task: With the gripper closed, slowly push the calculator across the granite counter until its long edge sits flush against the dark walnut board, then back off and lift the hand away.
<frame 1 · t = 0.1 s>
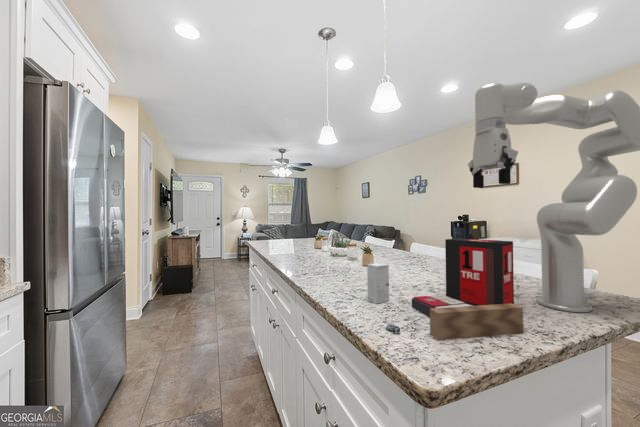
hand: (490, 185, 78), 37 cm above the counter, tool pointing down, fingers open, 9 cm apart
cleaning product box: (478, 303, 84), on the counter
blueberries: (395, 332, 64), on the counter
skincare box: (378, 301, 87), on the counter
walnut board: (476, 333, 62), on the counter
calculator: (443, 315, 75), on the counter
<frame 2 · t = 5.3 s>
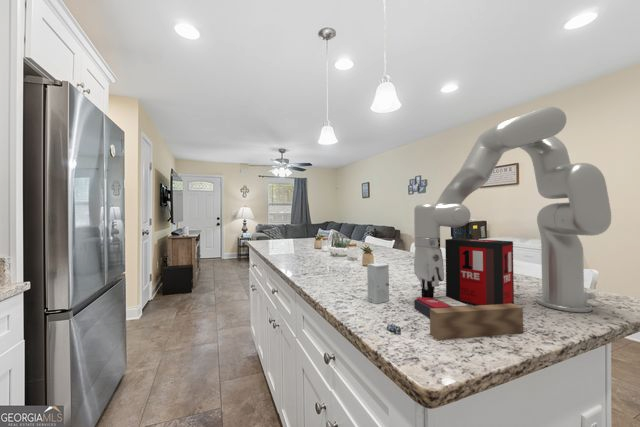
hand: (427, 301, 83), 1 cm above the counter, tool pointing down, fingers closed
calculator: (445, 318, 73), on the counter, touching gripper
everything else where it was.
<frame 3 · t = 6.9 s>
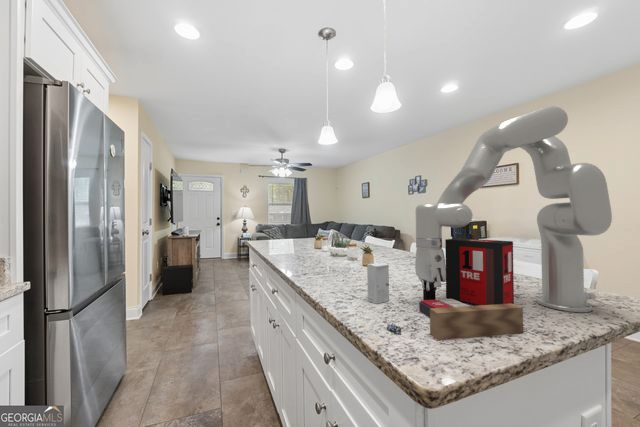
hand: (429, 302, 82), 1 cm above the counter, tool pointing down, fingers closed
calculator: (451, 321, 71), on the counter
everything else where it was.
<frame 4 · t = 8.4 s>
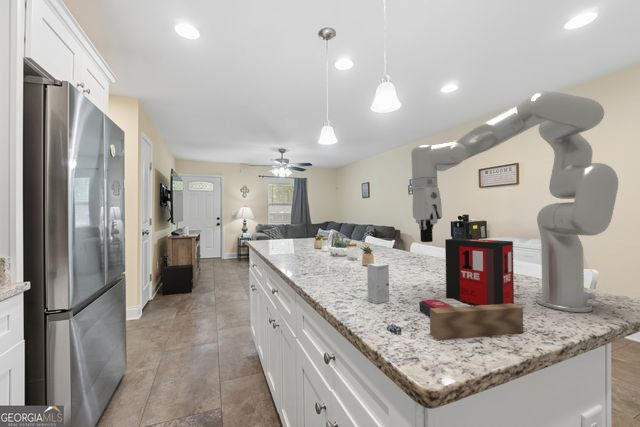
hand: (426, 241, 84), 20 cm above the counter, tool pointing down, fingers closed
nothing on the counter moved.
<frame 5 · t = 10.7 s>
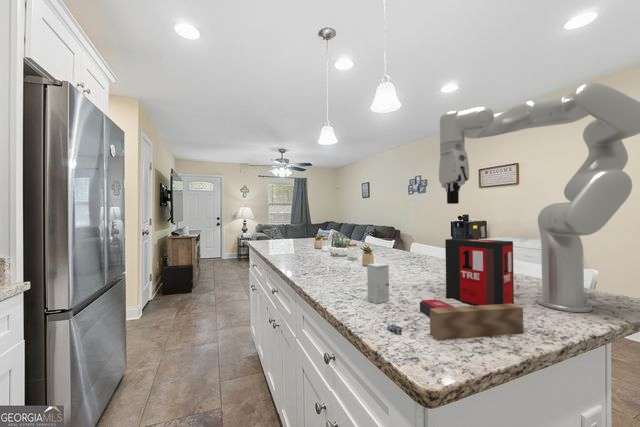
hand: (452, 203, 89), 32 cm above the counter, tool pointing down, fingers closed
nothing on the counter moved.
at the end: calculator inside the target area on the counter beside the walnut board (1.4 cm from its centre), on the counter; calculator tilted 0°; the gripper is holding nothing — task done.
